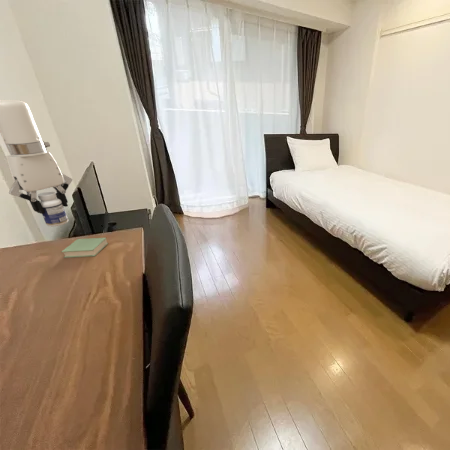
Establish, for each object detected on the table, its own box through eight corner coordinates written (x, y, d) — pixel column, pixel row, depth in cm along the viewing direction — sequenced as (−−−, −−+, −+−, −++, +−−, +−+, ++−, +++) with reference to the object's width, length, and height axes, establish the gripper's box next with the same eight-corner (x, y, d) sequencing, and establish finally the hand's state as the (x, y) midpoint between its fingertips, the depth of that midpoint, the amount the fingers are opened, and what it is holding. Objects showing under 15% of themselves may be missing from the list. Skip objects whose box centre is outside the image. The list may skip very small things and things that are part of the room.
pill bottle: (46, 222, 85) (33, 193, 81) (67, 218, 88) (57, 189, 84) (47, 228, 82) (34, 197, 77) (69, 223, 85) (58, 194, 81)
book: (64, 257, 93) (61, 251, 92) (80, 244, 101) (77, 238, 100) (95, 256, 94) (92, 250, 93) (108, 243, 102) (106, 237, 101)
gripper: (55, 143, 83) (76, 198, 91) (-23, 153, 69) (10, 217, 77) (69, 145, 81) (89, 202, 89) (-9, 155, 67) (24, 222, 75)
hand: (52, 208), depth 83 cm, fingers closed on pill bottle, 5 cm apart
